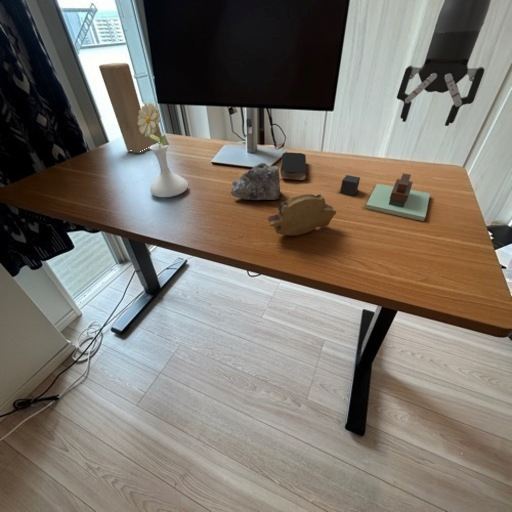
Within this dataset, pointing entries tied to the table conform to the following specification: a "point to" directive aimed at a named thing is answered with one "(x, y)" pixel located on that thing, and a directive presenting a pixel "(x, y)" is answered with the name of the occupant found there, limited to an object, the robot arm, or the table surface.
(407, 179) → the brown stepped block
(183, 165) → the table surface
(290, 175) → the black sponge
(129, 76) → the decorative block
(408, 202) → the tray
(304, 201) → the wooden carving
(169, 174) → the flower in vase
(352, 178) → the charcoal matte cube
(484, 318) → the table surface
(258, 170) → the mineral rock
